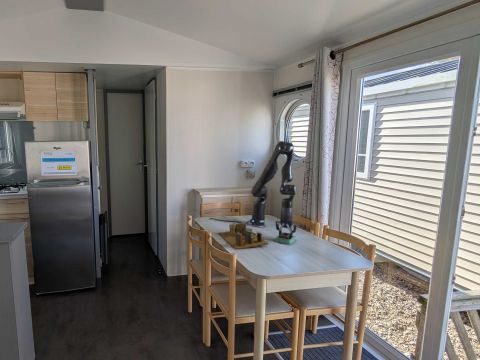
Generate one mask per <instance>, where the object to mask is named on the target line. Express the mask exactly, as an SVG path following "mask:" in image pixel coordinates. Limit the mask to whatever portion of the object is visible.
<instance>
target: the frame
mask: <svg viewBox="0 0 480 360" xmlns="http://www.w3.org/2000/svg"><path fill="white" fill-rule="evenodd" d="M278 236H279V238H282V239H287V240H289V239H291V238H290V232H285V231H282V233H281V234H280V235H279V234H278Z"/></svg>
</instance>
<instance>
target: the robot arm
mask: <svg viewBox="0 0 480 360" xmlns="http://www.w3.org/2000/svg"><path fill="white" fill-rule="evenodd" d="M294 151H295V149H294V144H293V143H292V142H289V141H284V140H279V141H278V142H277V143H276V145H275V147H274V149H273V152H272V154H271V156H270V158H269V160H268V161H267V164H266V165H265V167H264V168H263V171H262V172H261V174H260V176H259V178H258V179H257V180H256V182H255V183H254V185H253V186H252V188H251V195H252V196H253V197H254V198H256V199H255V200H254V201H253V203H252V204H253V206H252V214H251V218H250V219H249V220H247V221H246V222H244V223H245V224H246V225H247V224H248V223H249V224H251V226H253V227H257V228H264V227H265V224H266V203H267V201H268V200H267V199H268V188H267V186H266V184H268V183H269V182H270V181H271V180H273V179H274V178H275V177H276V175H277V173H278V171H279V162H278V159H279V157H280V155H284V156H285V159H286V160H285V162H284V164H283V165H282V167H281V171H280V172H281V173H280V175H281V182H280V187H279V193H280V194H281V195H283V196H287V197H283V198H282V199H281V208H280V220H275V230H276V231H278V236H279V235H280V234H281V233H283V231H282V230H283V229H287V230H288V231H289V233H290V238H292V236H294V235H293V234H295V233H296V232H297V228H298V224H297V223H293V215H294V199H295V197H296V194H297V191H298V188H297V186H296V184H288V183H291V182H293V180H294V176H293V175H294V174H293V161H294ZM209 220H214V221H221V222H230V223H242V222H240V221H238V220H224V219H218V218H214V217H209ZM292 227H293V228H292Z"/></svg>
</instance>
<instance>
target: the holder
mask: <svg viewBox="0 0 480 360" xmlns="http://www.w3.org/2000/svg"><path fill="white" fill-rule="evenodd" d="M295 241H296V236H295V235H293V236H292V238H291V239H289V240H287V239H282V238H279V235H276V237H275V242H276V243H280V244H284V245H292V244H293V243H294V242H295Z"/></svg>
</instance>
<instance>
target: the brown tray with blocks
mask: <svg viewBox="0 0 480 360" xmlns="http://www.w3.org/2000/svg"><path fill="white" fill-rule="evenodd" d="M245 223H246V222H241V223H238V222H233V223H231V224H229V225H228V226H229V230H228V231H222V232H221V231H220V232H218V234H219V235H220V236H221V237H222V238H223V240H225V241H226V242H227V243H228V244H229V245H230V246H232V247H233V248H234V250H242V249H249V248H255V247H260V246H264V245H265V246H267V245H269V242H268V241H266V240H264V239H263V234H262V233H261V232H259V231H258V232H256V233H255V232H253V228H249V227H247V224H245Z"/></svg>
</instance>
